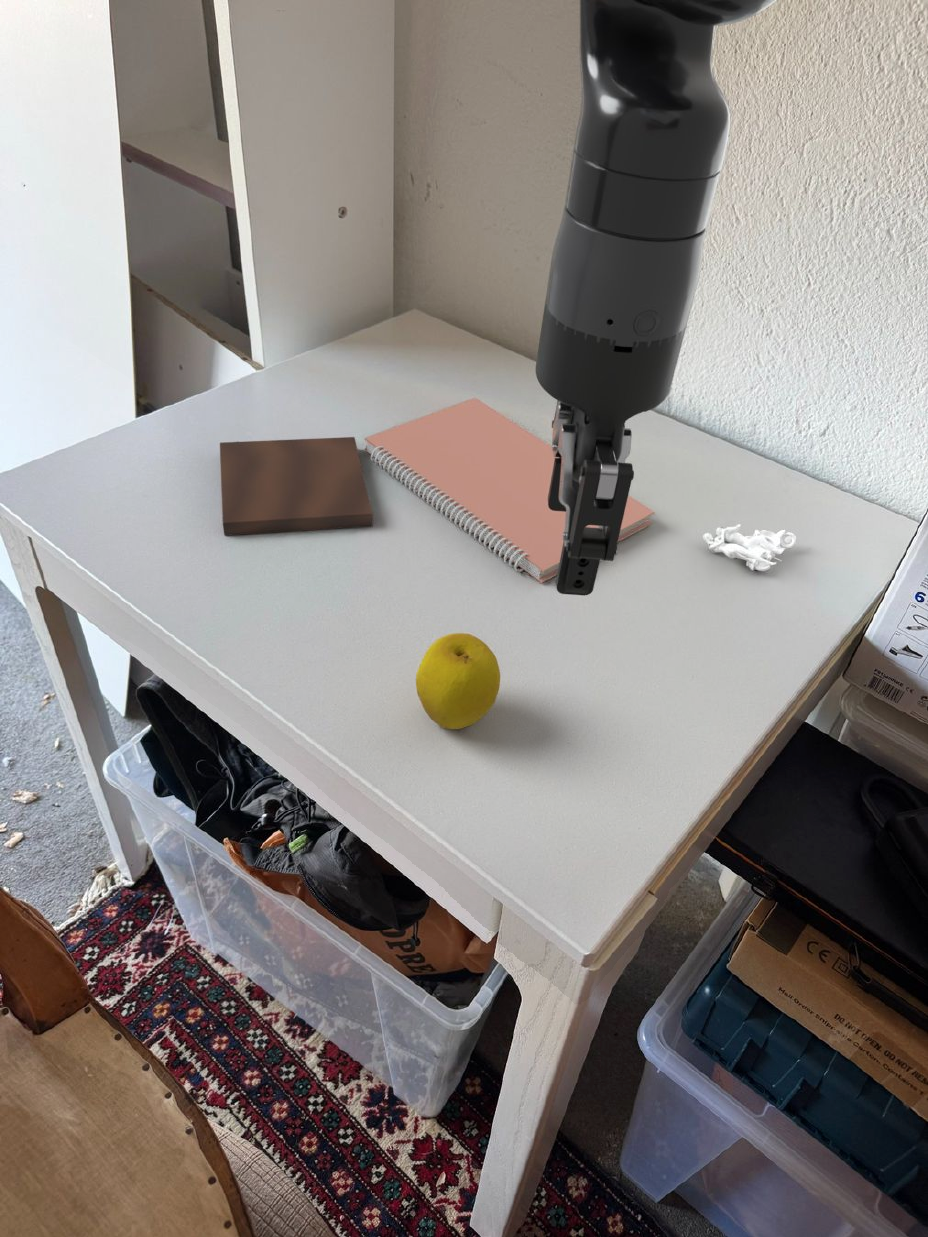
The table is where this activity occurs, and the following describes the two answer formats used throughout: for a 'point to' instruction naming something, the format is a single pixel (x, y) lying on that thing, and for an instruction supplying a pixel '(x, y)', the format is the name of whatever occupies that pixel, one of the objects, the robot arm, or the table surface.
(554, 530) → the notebook
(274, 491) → the cutting board
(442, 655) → the apple
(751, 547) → the figurine
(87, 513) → the table surface
